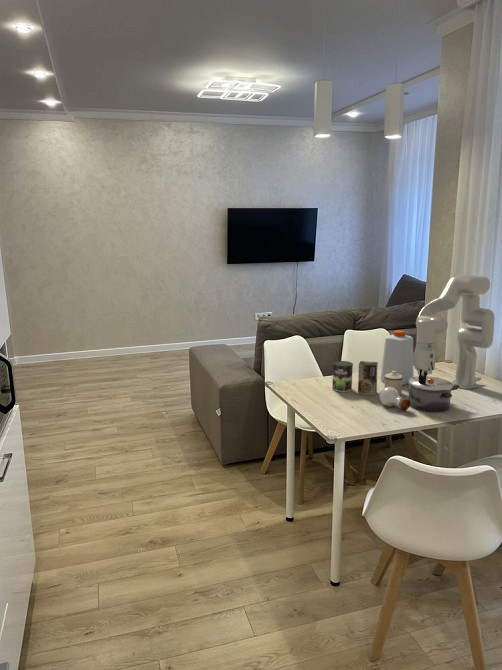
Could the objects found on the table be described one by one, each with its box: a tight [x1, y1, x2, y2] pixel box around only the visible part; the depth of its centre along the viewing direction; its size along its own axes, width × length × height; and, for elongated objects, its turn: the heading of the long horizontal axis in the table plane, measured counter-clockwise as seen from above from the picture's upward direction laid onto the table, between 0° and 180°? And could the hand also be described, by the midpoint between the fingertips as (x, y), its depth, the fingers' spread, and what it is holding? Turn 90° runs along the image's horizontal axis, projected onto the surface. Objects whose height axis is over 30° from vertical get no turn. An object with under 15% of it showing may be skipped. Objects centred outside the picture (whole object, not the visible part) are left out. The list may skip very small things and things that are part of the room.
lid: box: [408, 375, 453, 391], centre depth 250 cm, size 20×20×3 cm
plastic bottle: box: [380, 329, 415, 386], centre depth 287 cm, size 15×15×28 cm
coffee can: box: [331, 360, 354, 393], centre depth 275 cm, size 10×10×14 cm
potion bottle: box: [378, 387, 411, 412], centre depth 249 cm, size 9×10×15 cm
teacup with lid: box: [383, 371, 403, 396], centre depth 270 cm, size 12×9×12 cm
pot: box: [407, 376, 461, 413], centre depth 252 cm, size 21×25×10 cm
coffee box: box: [357, 360, 379, 397], centre depth 269 cm, size 9×6×16 cm
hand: (422, 383), depth 248 cm, fingers closed
